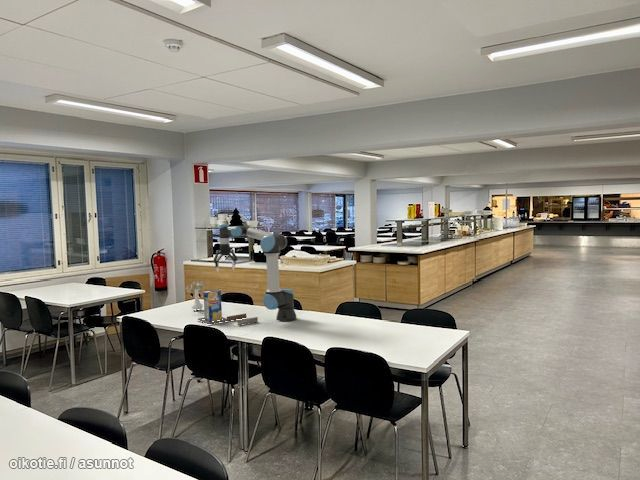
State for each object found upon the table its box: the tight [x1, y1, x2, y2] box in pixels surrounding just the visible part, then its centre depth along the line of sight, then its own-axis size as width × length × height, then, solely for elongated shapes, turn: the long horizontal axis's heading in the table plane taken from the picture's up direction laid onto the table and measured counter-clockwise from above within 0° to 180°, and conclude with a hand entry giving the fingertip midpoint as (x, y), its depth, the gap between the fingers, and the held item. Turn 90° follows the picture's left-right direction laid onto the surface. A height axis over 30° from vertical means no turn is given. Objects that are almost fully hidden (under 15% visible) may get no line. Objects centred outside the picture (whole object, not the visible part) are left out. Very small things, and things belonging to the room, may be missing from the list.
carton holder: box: [226, 313, 259, 326], centre depth 346 cm, size 18×16×4 cm
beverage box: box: [203, 289, 223, 322], centre depth 350 cm, size 7×11×22 cm, turn 134°
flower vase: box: [184, 280, 206, 310], centre depth 394 cm, size 13×18×25 cm
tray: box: [197, 316, 228, 324], centre depth 351 cm, size 20×16×2 cm
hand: (225, 270), depth 365 cm, fingers open, 13 cm apart
